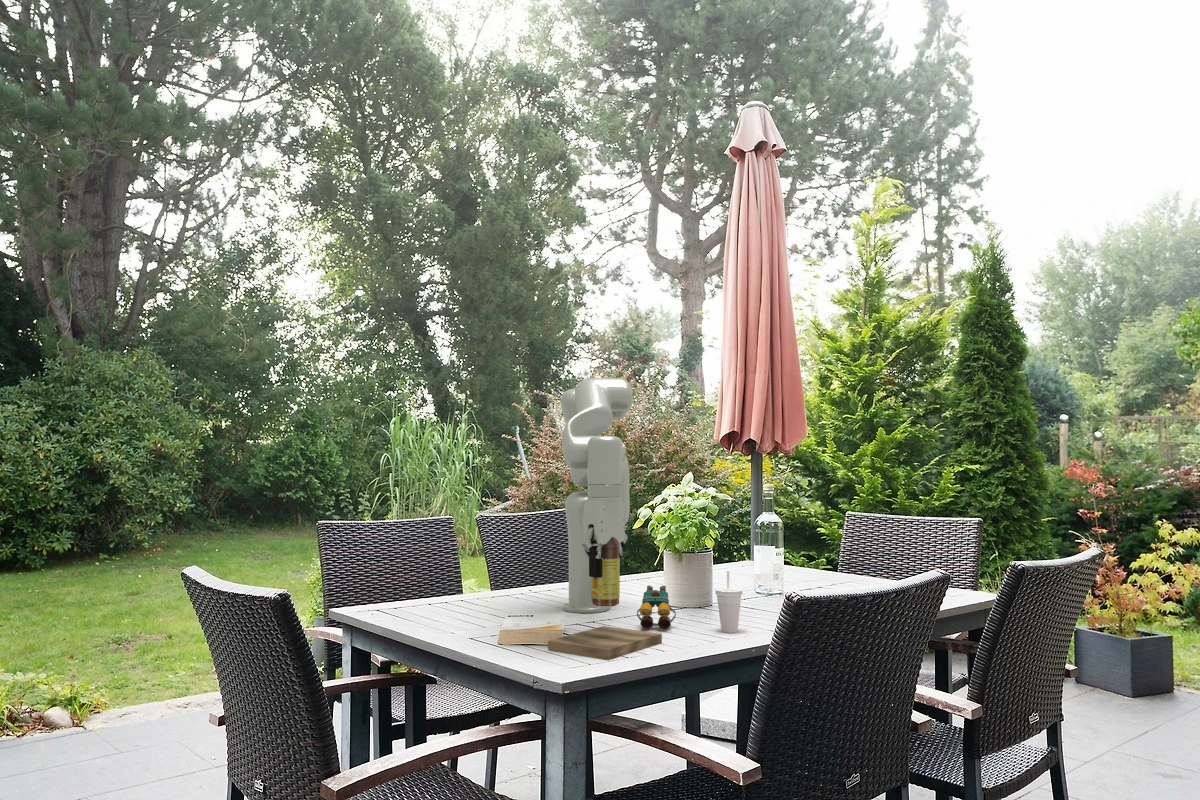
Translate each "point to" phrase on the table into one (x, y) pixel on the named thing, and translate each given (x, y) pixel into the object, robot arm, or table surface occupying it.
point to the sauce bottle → (607, 576)
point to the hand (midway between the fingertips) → (605, 574)
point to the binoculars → (664, 608)
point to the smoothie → (729, 607)
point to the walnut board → (605, 642)
